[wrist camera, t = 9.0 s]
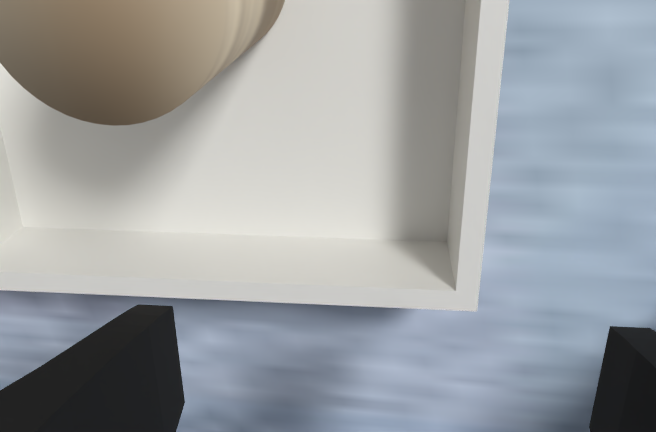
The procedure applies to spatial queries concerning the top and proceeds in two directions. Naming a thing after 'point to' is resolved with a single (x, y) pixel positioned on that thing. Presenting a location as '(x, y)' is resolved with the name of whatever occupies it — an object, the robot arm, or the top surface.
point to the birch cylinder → (125, 51)
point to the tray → (276, 169)
